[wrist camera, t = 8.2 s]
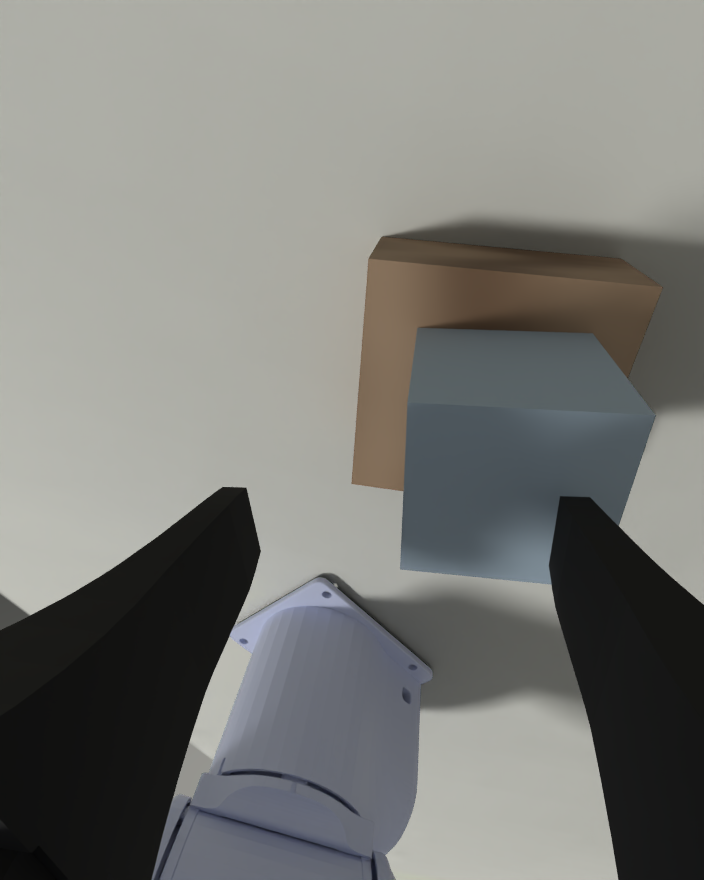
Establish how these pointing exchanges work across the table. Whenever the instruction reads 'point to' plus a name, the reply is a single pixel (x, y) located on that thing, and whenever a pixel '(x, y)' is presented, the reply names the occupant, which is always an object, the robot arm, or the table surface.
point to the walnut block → (477, 321)
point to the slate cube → (511, 447)
